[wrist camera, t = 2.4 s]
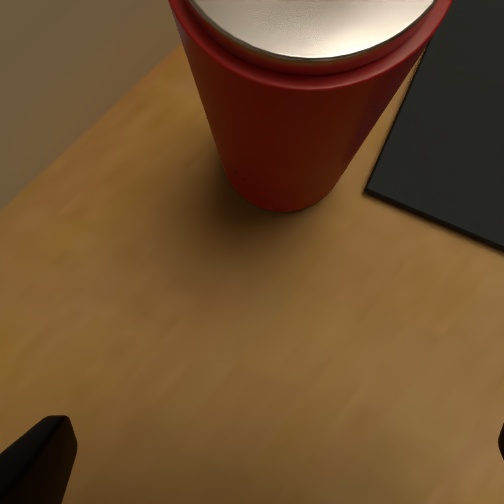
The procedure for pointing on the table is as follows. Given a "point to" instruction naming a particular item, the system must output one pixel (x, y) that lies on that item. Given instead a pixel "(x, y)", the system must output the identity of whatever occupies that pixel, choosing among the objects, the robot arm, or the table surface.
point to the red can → (298, 84)
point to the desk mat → (452, 128)
